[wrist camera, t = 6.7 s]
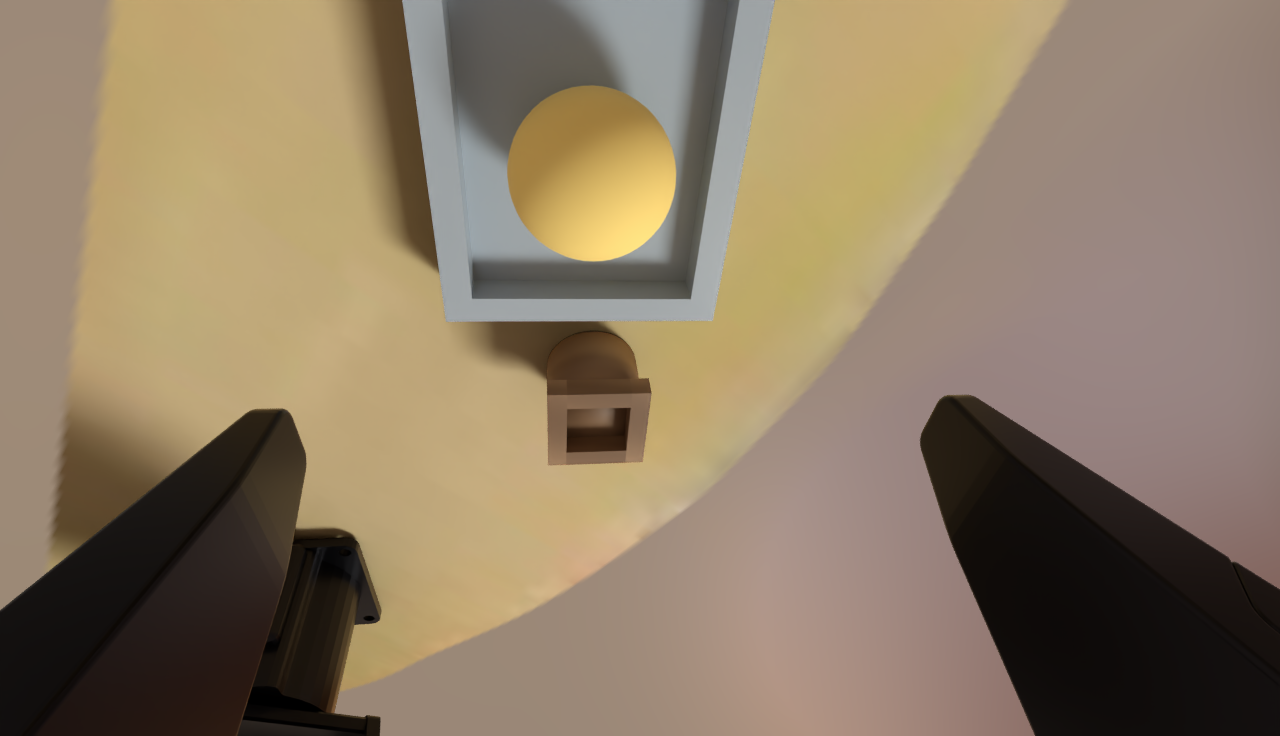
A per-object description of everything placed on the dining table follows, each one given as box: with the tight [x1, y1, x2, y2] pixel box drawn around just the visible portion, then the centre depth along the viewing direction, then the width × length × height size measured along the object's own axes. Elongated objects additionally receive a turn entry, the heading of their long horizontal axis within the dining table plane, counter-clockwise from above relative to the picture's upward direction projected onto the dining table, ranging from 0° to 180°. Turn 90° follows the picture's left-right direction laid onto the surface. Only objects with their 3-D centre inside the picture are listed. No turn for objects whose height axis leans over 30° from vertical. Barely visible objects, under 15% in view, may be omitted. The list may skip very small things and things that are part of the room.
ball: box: [507, 85, 676, 261], centre depth 15 cm, size 4×4×4 cm
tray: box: [402, 0, 775, 322], centre depth 17 cm, size 10×8×2 cm
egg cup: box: [547, 331, 651, 465], centre depth 22 cm, size 3×3×3 cm
